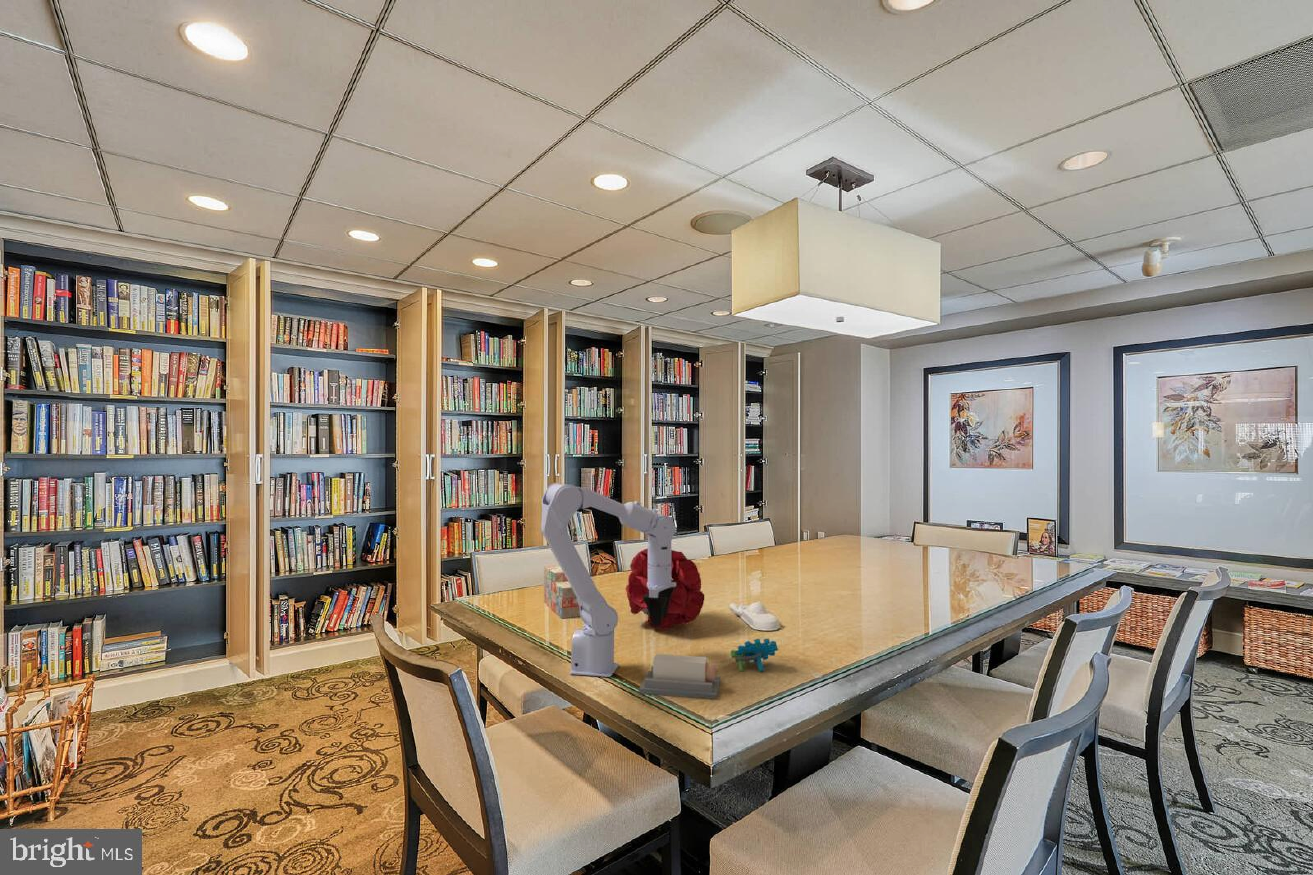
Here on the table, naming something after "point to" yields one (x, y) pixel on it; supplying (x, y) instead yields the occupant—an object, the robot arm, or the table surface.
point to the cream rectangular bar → (683, 668)
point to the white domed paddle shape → (756, 616)
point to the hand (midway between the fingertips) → (659, 621)
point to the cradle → (679, 687)
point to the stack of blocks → (559, 593)
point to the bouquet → (684, 596)
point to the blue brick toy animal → (754, 652)
